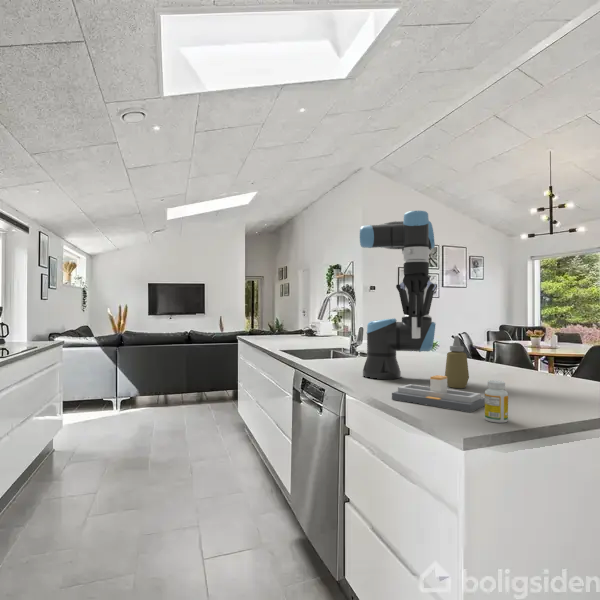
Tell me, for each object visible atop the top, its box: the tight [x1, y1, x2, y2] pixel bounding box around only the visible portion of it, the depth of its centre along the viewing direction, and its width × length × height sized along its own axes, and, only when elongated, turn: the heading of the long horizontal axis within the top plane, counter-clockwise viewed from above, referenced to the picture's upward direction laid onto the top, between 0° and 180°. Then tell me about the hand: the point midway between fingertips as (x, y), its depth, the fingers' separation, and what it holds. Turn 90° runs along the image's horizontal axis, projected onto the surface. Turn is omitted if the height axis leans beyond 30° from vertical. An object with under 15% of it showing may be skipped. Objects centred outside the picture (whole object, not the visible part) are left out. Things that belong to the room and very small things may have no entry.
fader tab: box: [429, 374, 448, 393], centre depth 131 cm, size 3×4×5 cm
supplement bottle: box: [484, 380, 509, 424], centre depth 110 cm, size 5×5×10 cm
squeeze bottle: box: [444, 335, 470, 389], centre depth 156 cm, size 8×8×18 cm
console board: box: [391, 383, 485, 413], centre depth 131 cm, size 24×12×4 cm, turn 48°
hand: (416, 338), depth 136 cm, fingers closed
